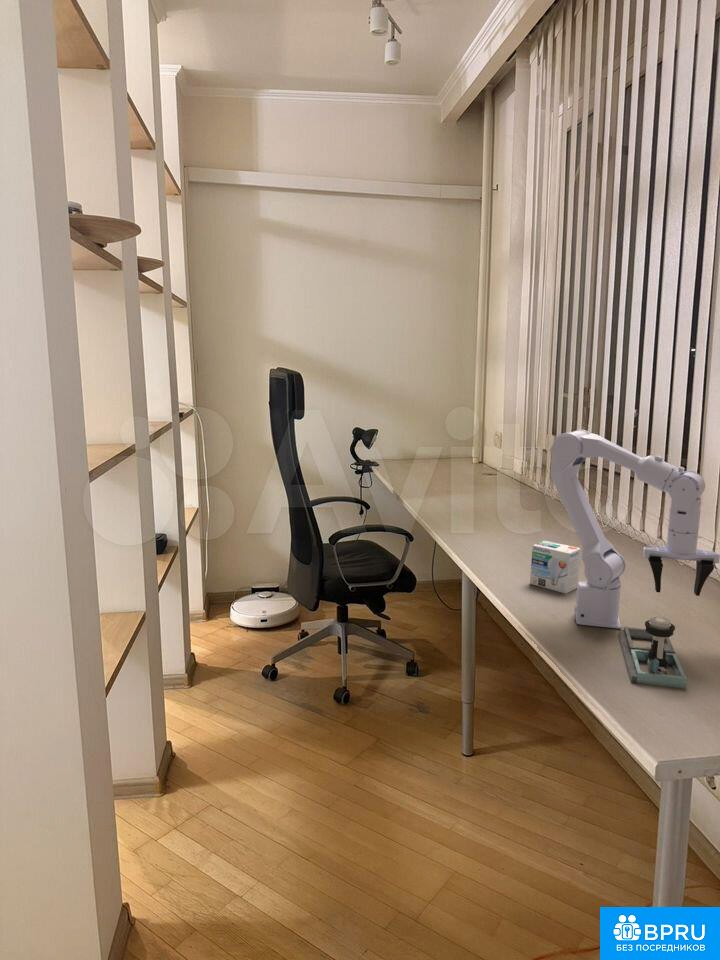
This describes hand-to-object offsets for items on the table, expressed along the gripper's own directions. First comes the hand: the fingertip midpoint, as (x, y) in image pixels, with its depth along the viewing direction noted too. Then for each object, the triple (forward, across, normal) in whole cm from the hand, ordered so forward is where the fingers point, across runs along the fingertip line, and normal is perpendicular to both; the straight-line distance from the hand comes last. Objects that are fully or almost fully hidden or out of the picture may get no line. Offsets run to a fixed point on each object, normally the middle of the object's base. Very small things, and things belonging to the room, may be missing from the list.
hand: (677, 592), depth 148 cm
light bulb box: (+10, -24, +28) cm, 39 cm away
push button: (+11, -6, -17) cm, 21 cm away
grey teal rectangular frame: (+10, -6, -12) cm, 17 cm away
